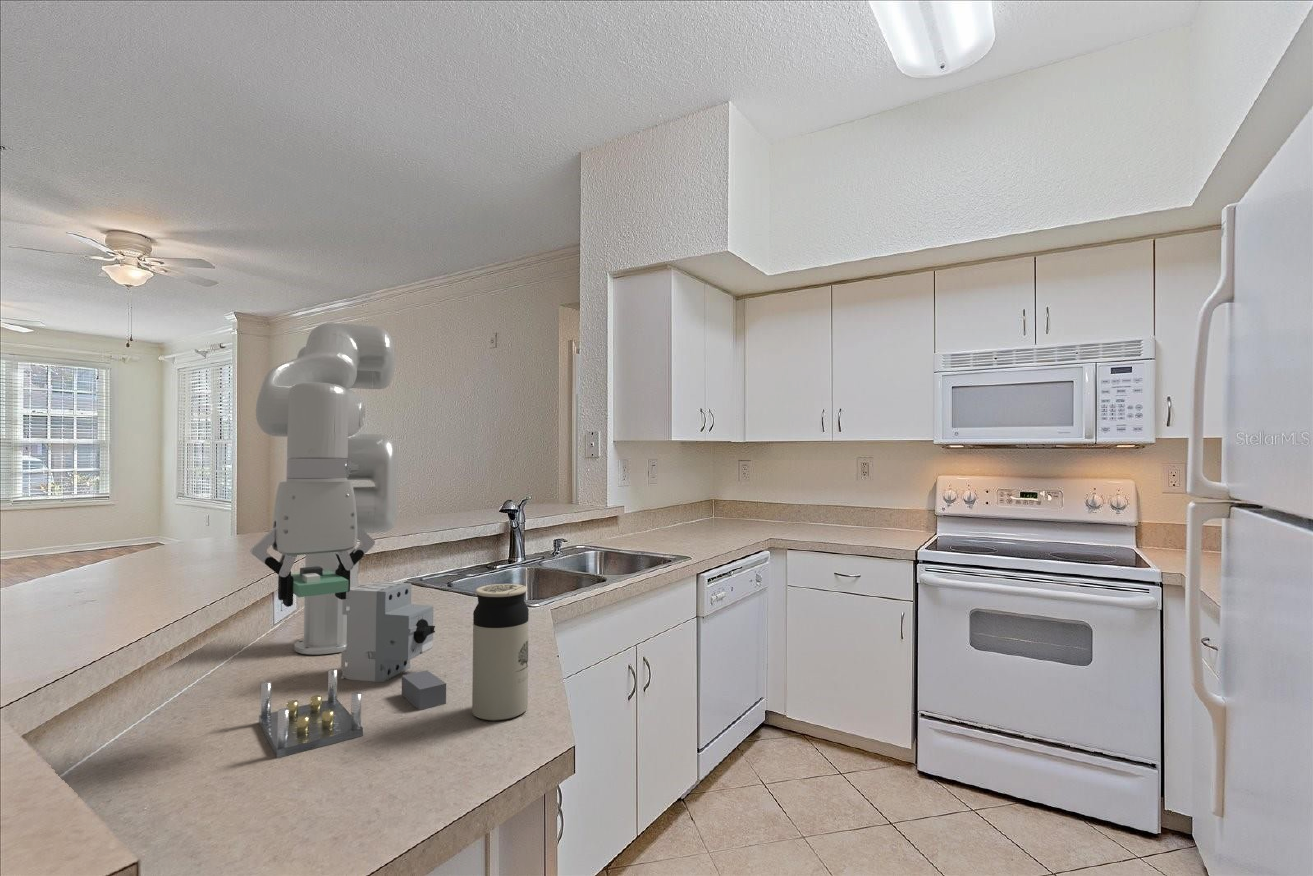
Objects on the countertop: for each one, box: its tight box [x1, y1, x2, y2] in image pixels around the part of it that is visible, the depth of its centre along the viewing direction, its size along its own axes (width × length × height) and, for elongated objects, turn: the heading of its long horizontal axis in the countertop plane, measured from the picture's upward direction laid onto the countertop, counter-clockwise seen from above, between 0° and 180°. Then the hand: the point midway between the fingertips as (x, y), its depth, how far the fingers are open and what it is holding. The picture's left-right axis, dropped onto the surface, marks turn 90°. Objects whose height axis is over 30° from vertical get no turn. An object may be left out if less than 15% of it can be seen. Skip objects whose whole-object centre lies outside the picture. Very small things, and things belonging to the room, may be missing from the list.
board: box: [291, 566, 349, 598], centre depth 88 cm, size 10×6×2 cm, turn 40°
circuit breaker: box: [340, 581, 436, 683], centre depth 110 cm, size 8×14×15 cm, turn 78°
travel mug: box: [471, 583, 530, 722], centre depth 94 cm, size 8×8×18 cm
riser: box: [401, 670, 447, 711], centre depth 98 cm, size 8×4×3 cm, turn 40°
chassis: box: [258, 668, 364, 759], centre depth 87 cm, size 14×10×6 cm
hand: (314, 600), depth 88 cm, fingers closed on board, 6 cm apart
